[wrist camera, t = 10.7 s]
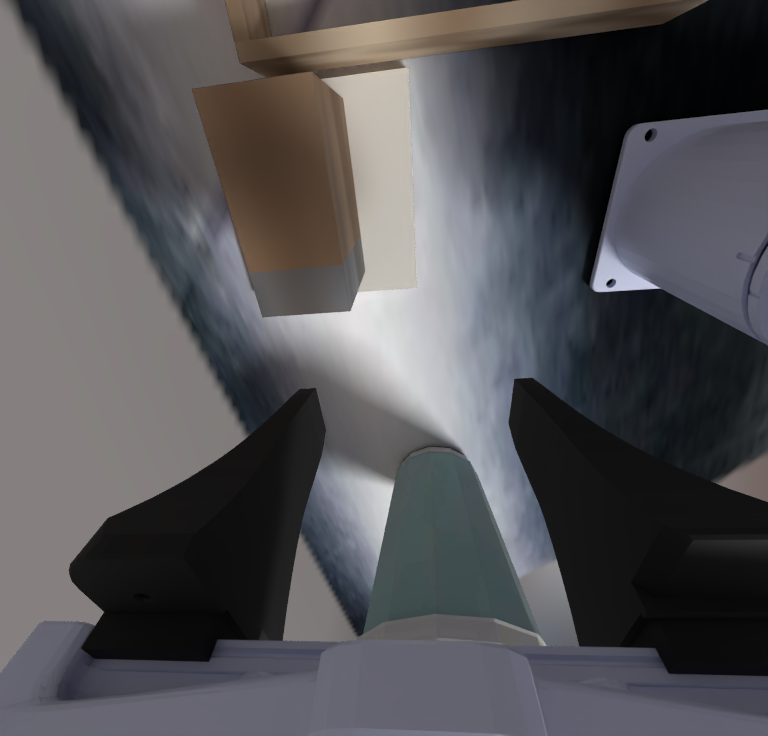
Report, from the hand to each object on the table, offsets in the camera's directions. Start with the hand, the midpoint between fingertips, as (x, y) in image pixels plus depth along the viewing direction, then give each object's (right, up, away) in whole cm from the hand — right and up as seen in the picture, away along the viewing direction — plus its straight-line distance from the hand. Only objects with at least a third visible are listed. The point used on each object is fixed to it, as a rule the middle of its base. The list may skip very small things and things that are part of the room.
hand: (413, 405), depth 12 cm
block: (-5, +10, +5) cm, 13 cm away
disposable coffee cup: (+3, -8, +17) cm, 19 cm away
